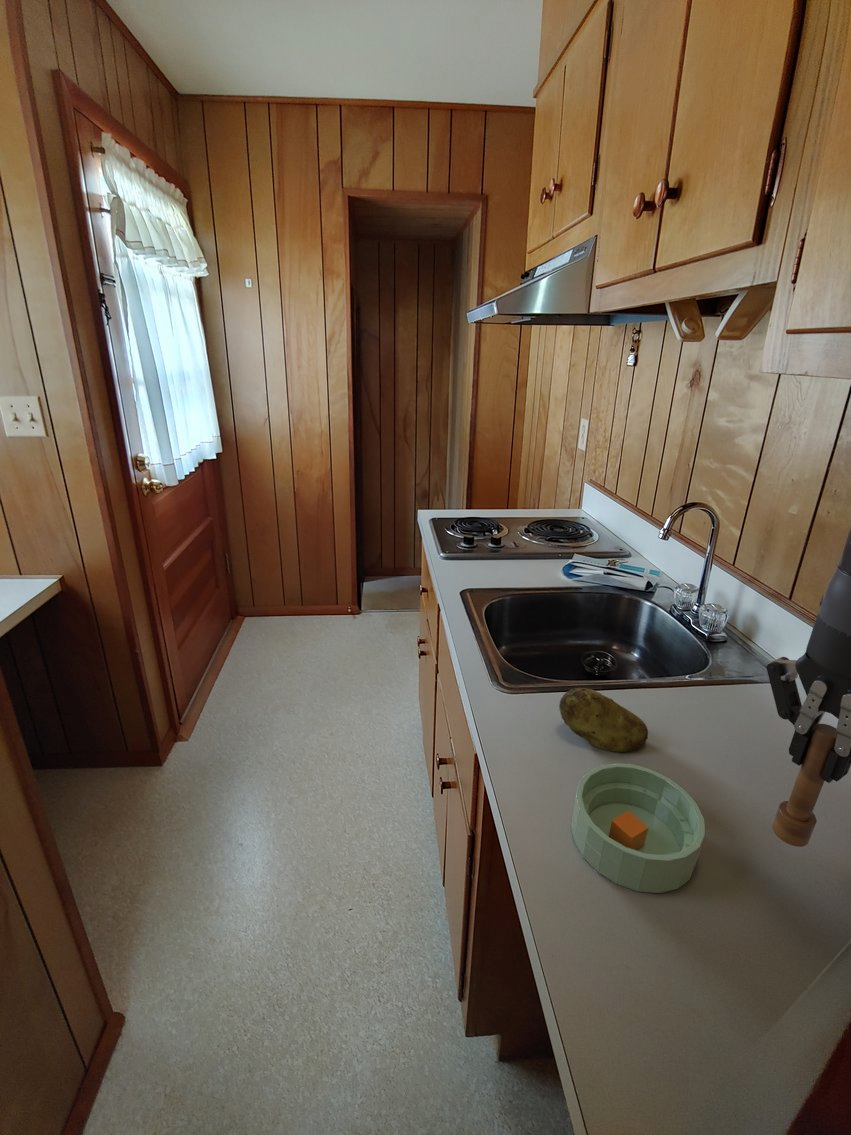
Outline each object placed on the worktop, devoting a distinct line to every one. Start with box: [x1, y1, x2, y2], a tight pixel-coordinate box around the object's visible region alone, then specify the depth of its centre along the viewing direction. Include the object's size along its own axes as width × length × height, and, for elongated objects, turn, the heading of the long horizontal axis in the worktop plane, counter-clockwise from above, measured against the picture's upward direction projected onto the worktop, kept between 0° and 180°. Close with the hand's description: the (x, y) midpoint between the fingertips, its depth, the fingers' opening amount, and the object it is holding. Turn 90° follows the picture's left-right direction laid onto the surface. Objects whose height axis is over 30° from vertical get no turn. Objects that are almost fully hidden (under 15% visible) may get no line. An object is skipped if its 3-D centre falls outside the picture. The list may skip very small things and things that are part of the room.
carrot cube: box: [609, 811, 648, 850], centre depth 67 cm, size 3×3×3 cm
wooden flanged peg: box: [771, 723, 838, 848], centre depth 57 cm, size 3×3×14 cm
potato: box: [558, 687, 649, 753], centre depth 84 cm, size 8×13×8 cm, turn 56°
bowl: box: [570, 762, 706, 894], centre depth 67 cm, size 14×14×6 cm
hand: (813, 768), depth 56 cm, fingers closed on wooden flanged peg, 2 cm apart
